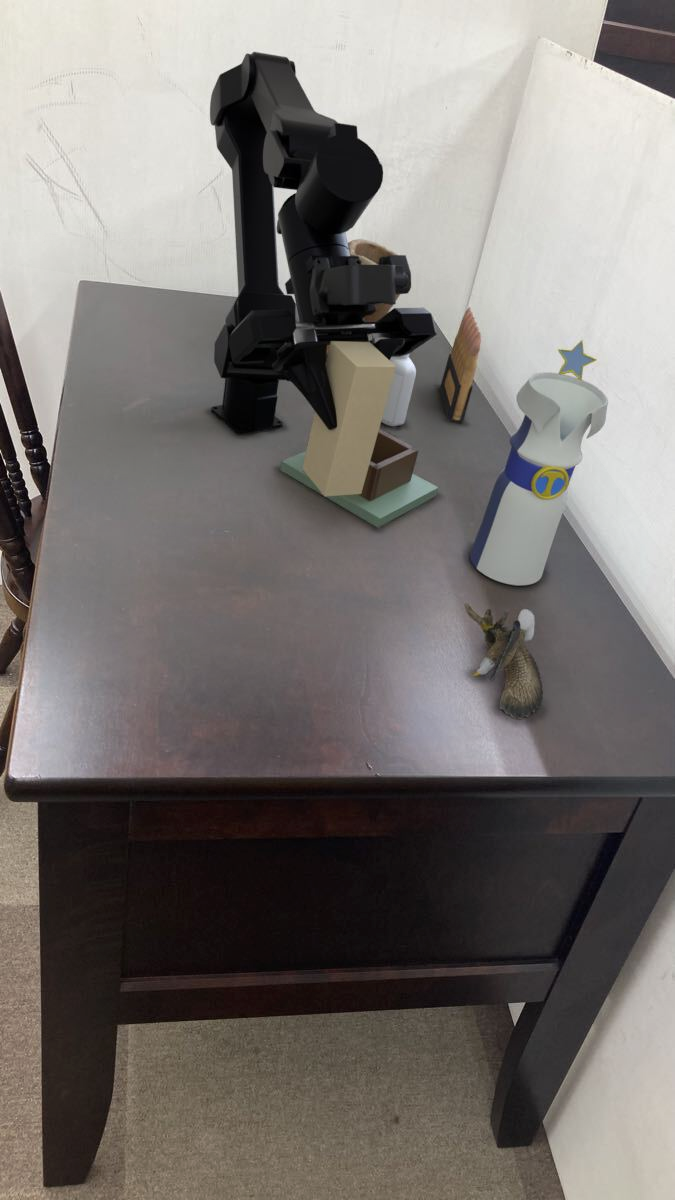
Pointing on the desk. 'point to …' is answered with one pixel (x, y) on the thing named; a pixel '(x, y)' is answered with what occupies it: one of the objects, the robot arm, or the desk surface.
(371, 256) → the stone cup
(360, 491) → the tan rectangular block
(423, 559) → the desk surface
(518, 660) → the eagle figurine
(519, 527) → the white superhero chess piece
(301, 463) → the seat base
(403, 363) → the eye dropper bottle
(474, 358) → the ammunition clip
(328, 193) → the robot arm
